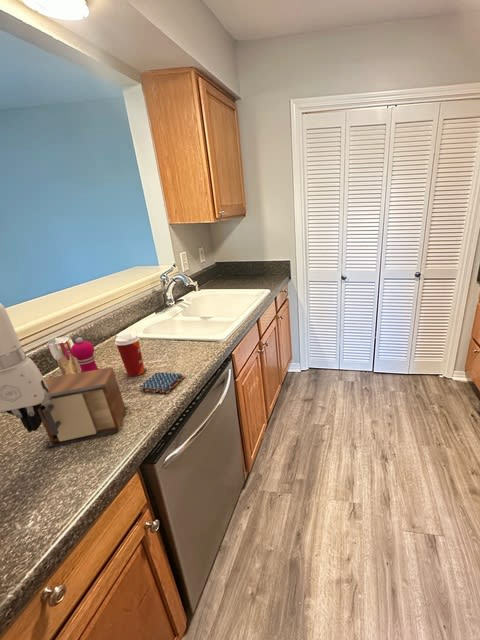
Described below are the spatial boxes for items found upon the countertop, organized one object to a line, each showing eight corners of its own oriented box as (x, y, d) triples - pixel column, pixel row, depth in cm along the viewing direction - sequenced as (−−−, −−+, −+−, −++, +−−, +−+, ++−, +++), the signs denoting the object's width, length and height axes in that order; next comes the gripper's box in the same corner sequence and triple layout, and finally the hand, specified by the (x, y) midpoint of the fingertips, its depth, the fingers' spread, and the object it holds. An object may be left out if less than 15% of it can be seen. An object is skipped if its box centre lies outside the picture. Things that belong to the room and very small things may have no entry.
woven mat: (168, 394, 102) (167, 389, 102) (139, 392, 105) (137, 386, 104) (185, 377, 112) (184, 372, 111) (158, 375, 114) (156, 370, 113)
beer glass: (83, 371, 120) (70, 334, 114) (86, 378, 115) (73, 340, 109) (61, 378, 115) (46, 340, 110) (63, 385, 111) (48, 346, 105)
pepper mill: (99, 401, 101) (79, 343, 93) (79, 399, 102) (57, 342, 94) (115, 388, 107) (97, 333, 99) (96, 387, 109) (77, 332, 101)
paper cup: (151, 371, 117) (142, 336, 112) (129, 380, 112) (119, 343, 106) (142, 365, 122) (132, 331, 117) (120, 373, 117) (110, 338, 111)
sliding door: (54, 452, 79) (35, 409, 74) (60, 439, 84) (43, 399, 79) (92, 443, 82) (76, 402, 77) (96, 432, 86) (81, 391, 81)
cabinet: (48, 447, 82) (27, 400, 77) (64, 420, 93) (46, 377, 87) (117, 432, 86) (102, 387, 81) (125, 408, 97) (112, 366, 91)
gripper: (-52, 374, 64) (-12, 446, 71) (36, 360, 68) (65, 429, 75) (-29, 358, 71) (5, 425, 78) (49, 346, 75) (75, 411, 82)
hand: (35, 427), depth 77 cm, fingers closed
